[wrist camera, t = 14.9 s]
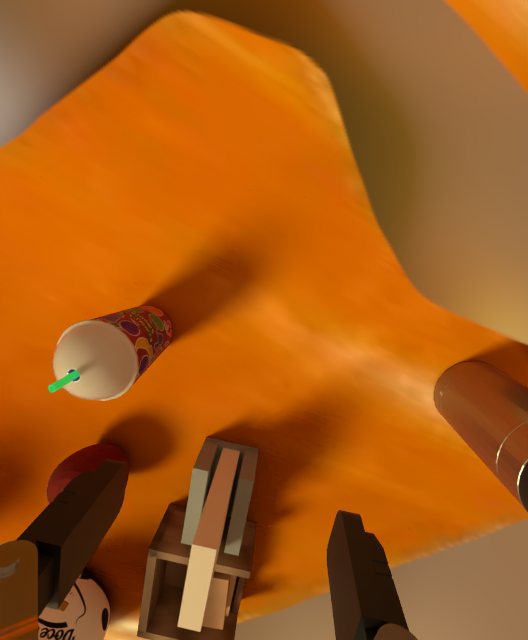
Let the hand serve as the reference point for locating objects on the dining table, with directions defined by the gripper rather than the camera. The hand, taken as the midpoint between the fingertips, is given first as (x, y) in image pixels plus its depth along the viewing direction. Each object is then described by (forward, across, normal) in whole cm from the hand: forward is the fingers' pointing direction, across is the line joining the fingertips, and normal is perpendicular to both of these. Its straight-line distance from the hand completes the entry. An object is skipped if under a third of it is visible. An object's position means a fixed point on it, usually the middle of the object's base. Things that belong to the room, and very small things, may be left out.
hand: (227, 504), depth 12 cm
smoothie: (+33, +16, +5) cm, 37 cm away
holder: (+33, +2, +26) cm, 42 cm away
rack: (+33, +3, +41) cm, 53 cm away
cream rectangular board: (+32, +2, +26) cm, 41 cm away
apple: (+33, +20, +27) cm, 47 cm away
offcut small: (+29, +1, +40) cm, 50 cm away
